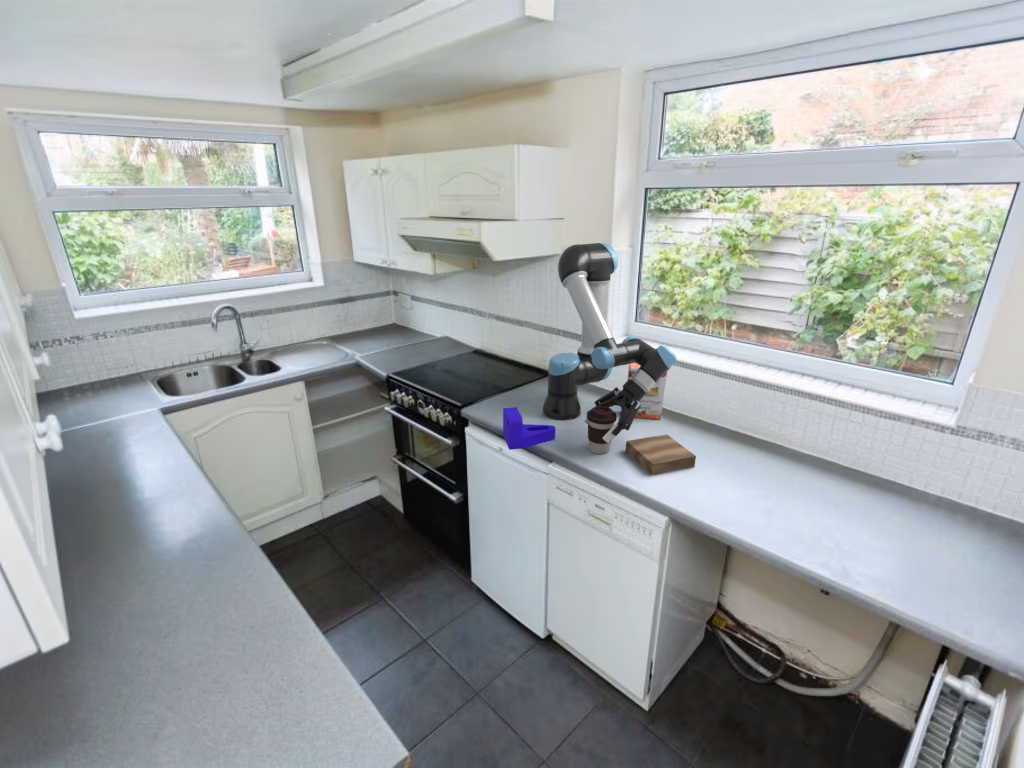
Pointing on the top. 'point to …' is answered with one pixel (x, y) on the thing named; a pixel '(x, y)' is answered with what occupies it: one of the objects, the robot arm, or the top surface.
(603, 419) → the coffee cup
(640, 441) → the cup stand
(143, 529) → the top surface
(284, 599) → the top surface
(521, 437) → the bracket
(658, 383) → the cracker box
